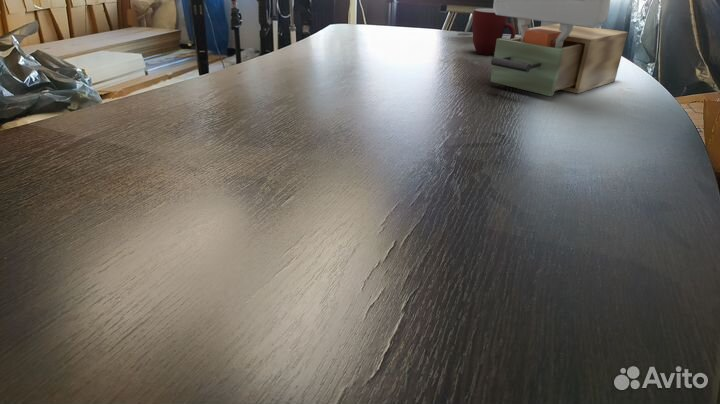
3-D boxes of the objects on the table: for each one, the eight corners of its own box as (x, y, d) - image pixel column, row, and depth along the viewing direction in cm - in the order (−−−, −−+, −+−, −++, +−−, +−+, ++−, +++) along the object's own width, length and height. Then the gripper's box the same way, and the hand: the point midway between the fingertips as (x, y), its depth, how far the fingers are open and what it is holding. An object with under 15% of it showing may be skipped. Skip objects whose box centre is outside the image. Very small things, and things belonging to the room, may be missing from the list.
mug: (513, 53, 125) (520, 10, 120) (510, 59, 118) (517, 14, 114) (471, 49, 128) (476, 7, 123) (465, 54, 121) (471, 11, 117)
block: (556, 57, 90) (561, 31, 88) (543, 60, 88) (548, 34, 86) (533, 53, 93) (538, 28, 91) (520, 56, 91) (525, 30, 89)
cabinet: (578, 93, 92) (590, 39, 87) (513, 78, 101) (522, 29, 96) (614, 81, 101) (627, 31, 97) (553, 68, 110) (562, 23, 105)
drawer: (535, 101, 83) (544, 53, 80) (474, 85, 91) (480, 41, 88) (589, 83, 95) (599, 41, 91) (531, 71, 103) (538, 32, 99)
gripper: (627, -34, 79) (604, 55, 85) (514, -40, 92) (502, 37, 98) (609, -34, 75) (587, 59, 81) (494, -40, 88) (483, 41, 95)
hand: (540, 47), depth 90 cm, fingers closed on block, 4 cm apart
